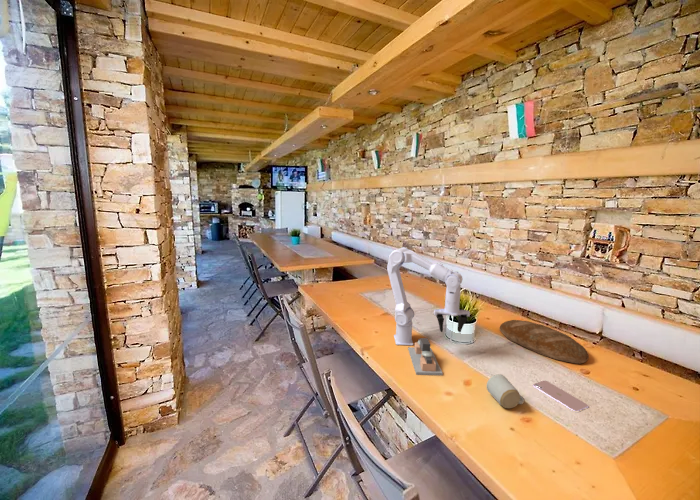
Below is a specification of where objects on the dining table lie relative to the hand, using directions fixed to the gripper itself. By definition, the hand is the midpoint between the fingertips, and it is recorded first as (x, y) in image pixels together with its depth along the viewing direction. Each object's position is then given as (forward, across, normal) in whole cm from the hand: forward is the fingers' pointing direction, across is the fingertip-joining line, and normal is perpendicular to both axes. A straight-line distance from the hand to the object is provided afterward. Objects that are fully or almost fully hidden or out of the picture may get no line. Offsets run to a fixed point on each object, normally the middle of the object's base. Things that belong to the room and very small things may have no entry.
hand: (450, 331), depth 126 cm
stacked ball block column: (+6, -12, -7) cm, 15 cm away
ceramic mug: (+11, +10, -30) cm, 33 cm away
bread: (+11, +45, +11) cm, 48 cm away
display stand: (+10, -12, -7) cm, 17 cm away
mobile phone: (+11, +30, -26) cm, 41 cm away
